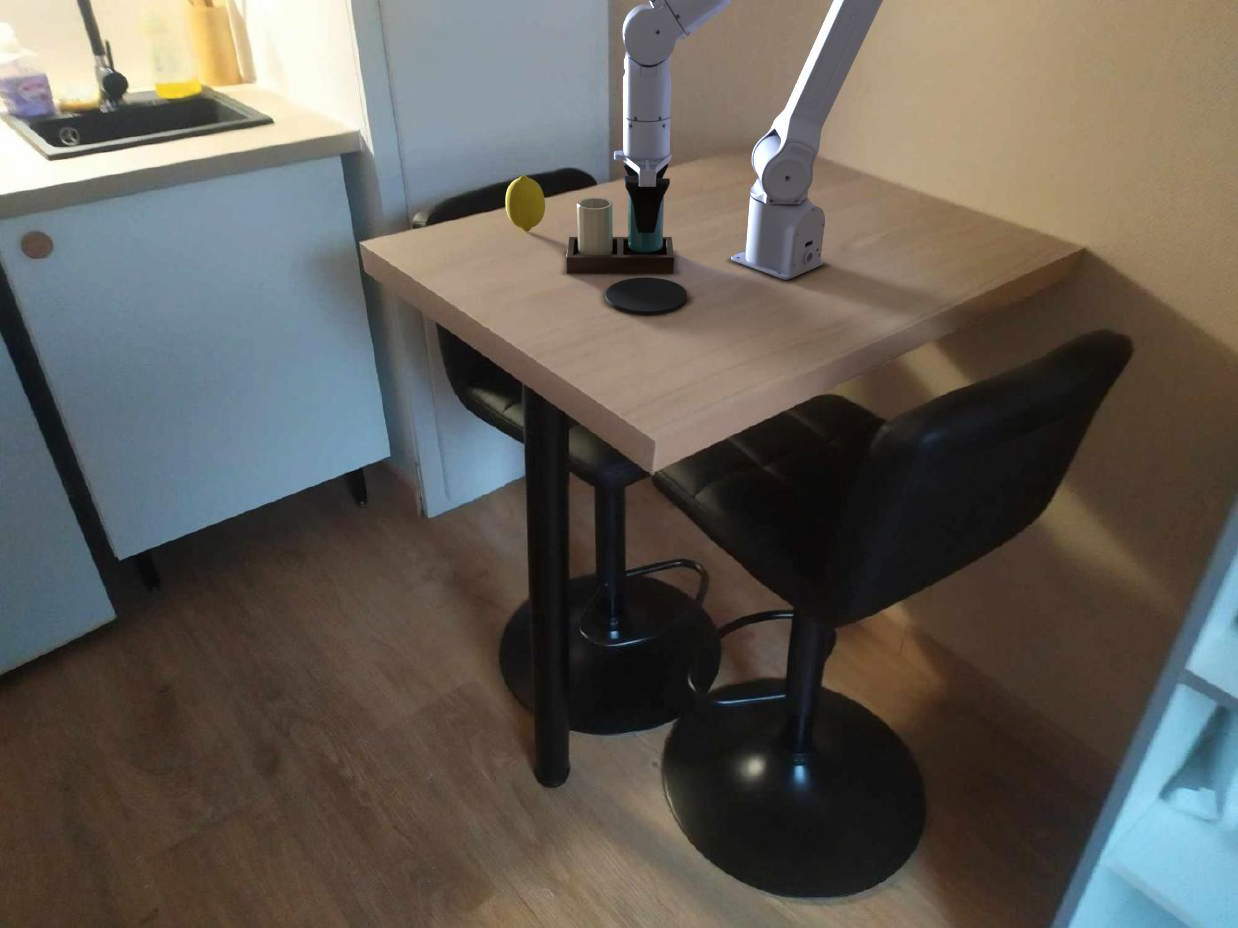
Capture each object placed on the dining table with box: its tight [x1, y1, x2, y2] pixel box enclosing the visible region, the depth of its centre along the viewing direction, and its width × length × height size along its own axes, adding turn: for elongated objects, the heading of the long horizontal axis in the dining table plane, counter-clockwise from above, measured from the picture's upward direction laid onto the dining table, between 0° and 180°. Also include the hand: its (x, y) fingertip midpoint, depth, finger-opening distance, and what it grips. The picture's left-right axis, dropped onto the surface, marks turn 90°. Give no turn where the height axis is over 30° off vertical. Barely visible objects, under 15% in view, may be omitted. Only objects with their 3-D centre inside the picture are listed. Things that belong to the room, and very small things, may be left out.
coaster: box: [605, 276, 688, 316], centre depth 113 cm, size 10×10×1 cm
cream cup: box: [576, 197, 614, 255], centre depth 120 cm, size 4×4×8 cm
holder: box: [565, 236, 675, 274], centre depth 122 cm, size 7×14×2 cm, turn 90°
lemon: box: [505, 174, 546, 233], centre depth 130 cm, size 6×6×8 cm
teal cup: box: [627, 192, 665, 252], centre depth 119 cm, size 4×4×8 cm
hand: (645, 225), depth 119 cm, fingers closed on teal cup, 4 cm apart
